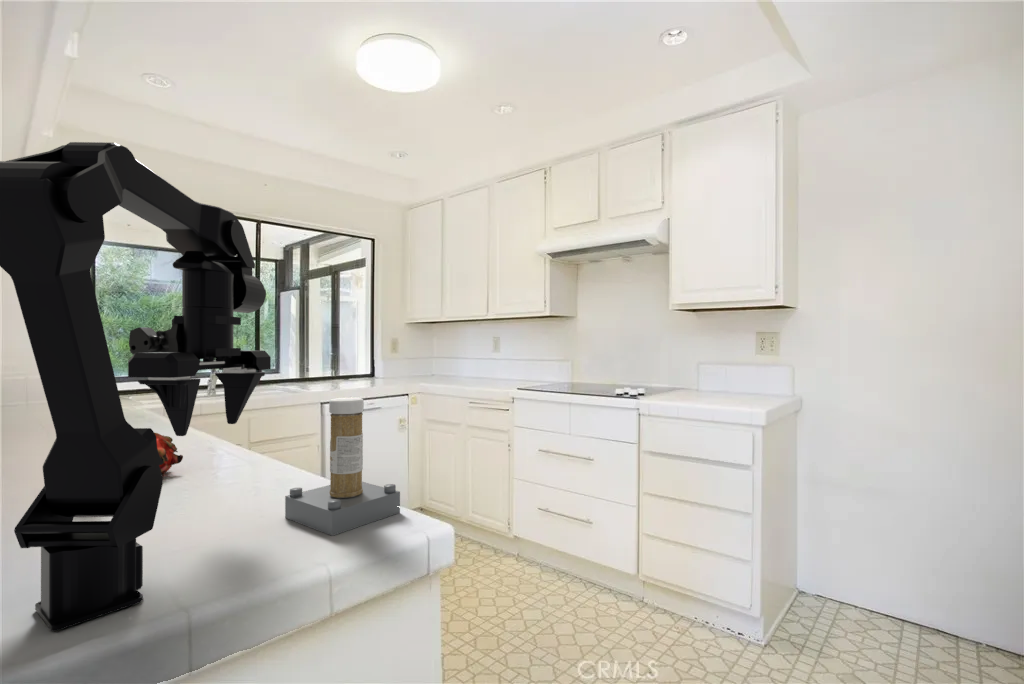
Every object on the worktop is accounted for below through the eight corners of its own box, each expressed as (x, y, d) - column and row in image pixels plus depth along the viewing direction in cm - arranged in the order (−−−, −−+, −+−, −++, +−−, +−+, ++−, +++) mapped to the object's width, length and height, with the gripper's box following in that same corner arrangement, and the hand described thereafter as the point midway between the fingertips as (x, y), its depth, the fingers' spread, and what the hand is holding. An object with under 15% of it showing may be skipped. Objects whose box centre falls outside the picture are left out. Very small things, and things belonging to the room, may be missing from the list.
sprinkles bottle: (331, 490, 73) (331, 396, 73) (364, 489, 74) (364, 396, 74) (326, 500, 69) (327, 400, 69) (362, 498, 70) (362, 399, 70)
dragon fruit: (145, 476, 99) (163, 498, 91) (101, 457, 93) (116, 478, 85) (177, 438, 102) (197, 456, 94) (136, 417, 96) (154, 434, 89)
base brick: (331, 535, 64) (331, 504, 64) (285, 517, 71) (285, 489, 71) (400, 512, 73) (400, 485, 73) (352, 498, 80) (352, 473, 80)
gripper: (203, 313, 77) (202, 417, 77) (84, 303, 58) (84, 441, 58) (272, 312, 75) (272, 419, 75) (174, 303, 57) (173, 444, 57)
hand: (208, 429), depth 66 cm, fingers open, 9 cm apart
